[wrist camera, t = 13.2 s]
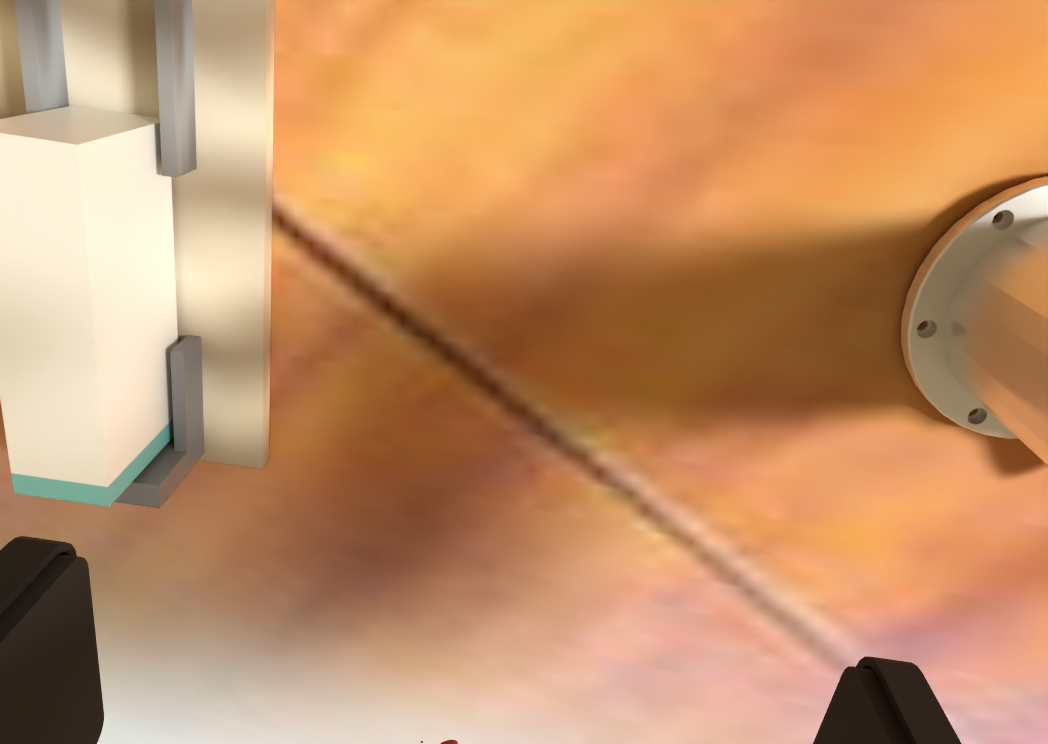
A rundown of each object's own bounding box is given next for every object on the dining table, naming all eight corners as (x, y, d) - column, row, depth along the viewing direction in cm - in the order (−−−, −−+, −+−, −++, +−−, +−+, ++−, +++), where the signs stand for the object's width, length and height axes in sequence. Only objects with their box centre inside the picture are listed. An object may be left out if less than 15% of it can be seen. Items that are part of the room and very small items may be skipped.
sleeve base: (-48, -283, 29) (-110, -314, 26) (277, -230, 29) (248, -254, 27) (41, 426, 42) (4, 455, 39) (268, 459, 42) (248, 490, 39)
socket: (75, 317, 38) (9, 359, 33) (201, 336, 38) (152, 380, 33) (87, 435, 40) (27, 489, 36) (204, 452, 41) (159, 508, 36)
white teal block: (74, 105, 33) (-40, 126, 27) (168, 119, 34) (77, 144, 27) (101, 415, 40) (14, 493, 33) (181, 427, 40) (109, 506, 33)
